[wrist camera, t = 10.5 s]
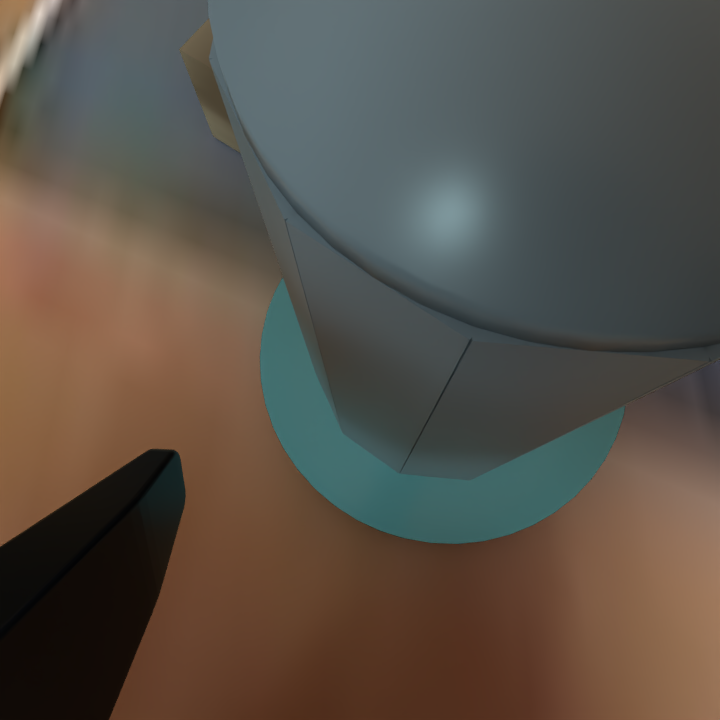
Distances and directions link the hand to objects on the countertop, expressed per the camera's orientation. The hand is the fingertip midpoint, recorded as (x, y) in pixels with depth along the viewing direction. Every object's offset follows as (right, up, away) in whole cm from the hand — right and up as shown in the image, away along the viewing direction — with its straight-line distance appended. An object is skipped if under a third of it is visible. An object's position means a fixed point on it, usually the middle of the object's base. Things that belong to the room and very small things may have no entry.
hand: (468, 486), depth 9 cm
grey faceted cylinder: (+1, +2, +9) cm, 9 cm away
